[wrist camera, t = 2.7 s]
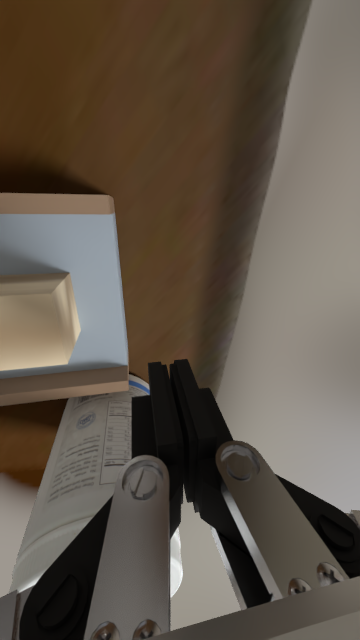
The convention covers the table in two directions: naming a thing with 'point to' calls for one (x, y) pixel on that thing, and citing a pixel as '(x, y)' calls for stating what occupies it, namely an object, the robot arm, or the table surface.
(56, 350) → the maple block
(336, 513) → the robot arm
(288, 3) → the table surface
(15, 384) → the box
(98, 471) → the supplement tub
